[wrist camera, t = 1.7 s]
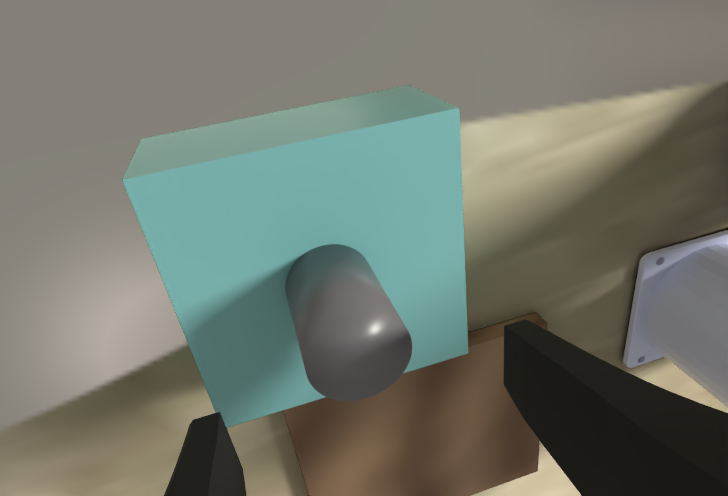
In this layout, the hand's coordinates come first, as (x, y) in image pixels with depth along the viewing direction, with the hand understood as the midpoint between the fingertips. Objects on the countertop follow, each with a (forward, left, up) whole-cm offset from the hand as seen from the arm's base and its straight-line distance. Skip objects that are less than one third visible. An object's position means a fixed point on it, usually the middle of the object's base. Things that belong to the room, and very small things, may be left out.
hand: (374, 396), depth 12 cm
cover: (0, 0, -10) cm, 10 cm away
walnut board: (-4, +14, -10) cm, 18 cm away
